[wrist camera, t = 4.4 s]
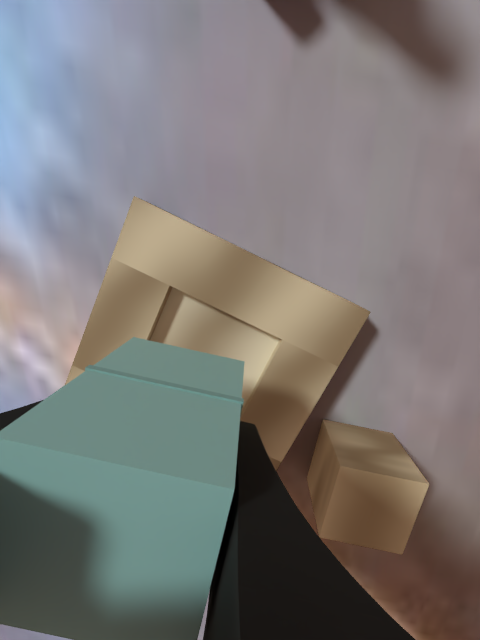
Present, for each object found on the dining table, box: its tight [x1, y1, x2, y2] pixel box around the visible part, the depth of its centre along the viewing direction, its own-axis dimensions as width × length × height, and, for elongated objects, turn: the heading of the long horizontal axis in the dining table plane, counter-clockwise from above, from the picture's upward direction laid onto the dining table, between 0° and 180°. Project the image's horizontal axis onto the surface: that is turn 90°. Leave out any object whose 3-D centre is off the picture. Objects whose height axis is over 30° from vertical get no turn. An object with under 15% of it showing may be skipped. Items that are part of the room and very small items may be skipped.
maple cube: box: [307, 419, 429, 555], centre depth 16 cm, size 4×4×4 cm
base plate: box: [65, 196, 370, 471], centre depth 16 cm, size 12×12×2 cm
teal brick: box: [0, 337, 245, 640], centre depth 8 cm, size 4×4×6 cm
